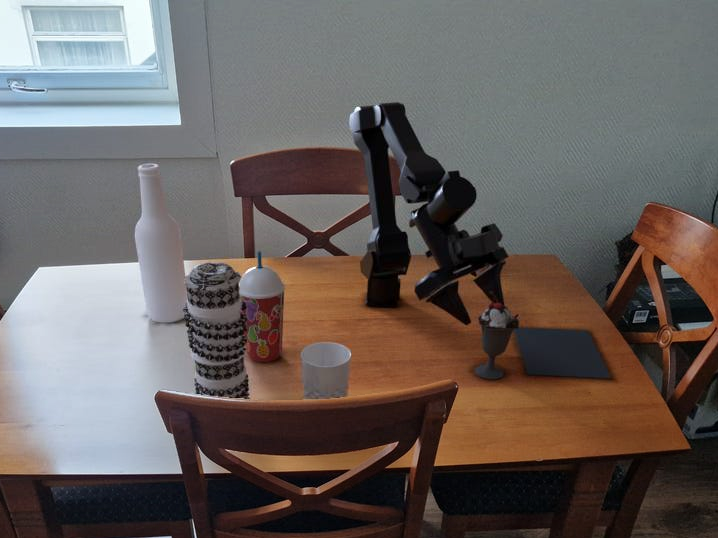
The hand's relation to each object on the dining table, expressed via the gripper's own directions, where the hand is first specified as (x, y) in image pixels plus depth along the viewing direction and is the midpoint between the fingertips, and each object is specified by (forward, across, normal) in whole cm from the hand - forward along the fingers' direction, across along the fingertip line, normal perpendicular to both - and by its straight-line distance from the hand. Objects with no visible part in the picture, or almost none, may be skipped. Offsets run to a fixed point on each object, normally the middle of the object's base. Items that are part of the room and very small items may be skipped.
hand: (485, 315), depth 111 cm
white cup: (+1, -29, +13) cm, 32 cm away
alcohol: (-32, -30, +47) cm, 64 cm away
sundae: (+9, 0, +6) cm, 11 cm away
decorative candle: (-5, -42, +20) cm, 47 cm away
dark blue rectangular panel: (+12, +16, +3) cm, 20 cm away
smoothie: (-13, -26, +28) cm, 40 cm away
